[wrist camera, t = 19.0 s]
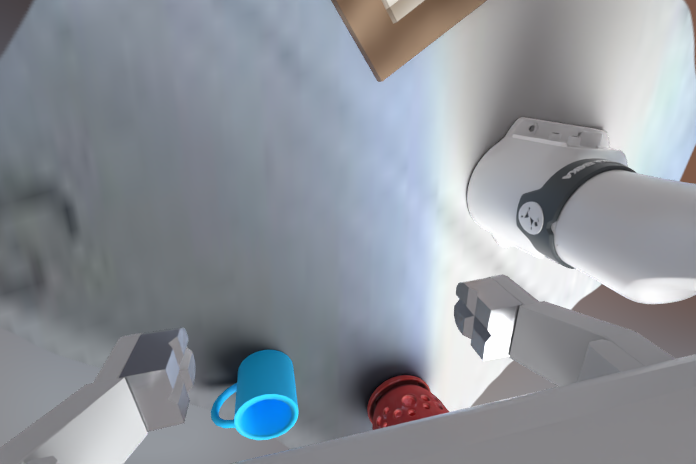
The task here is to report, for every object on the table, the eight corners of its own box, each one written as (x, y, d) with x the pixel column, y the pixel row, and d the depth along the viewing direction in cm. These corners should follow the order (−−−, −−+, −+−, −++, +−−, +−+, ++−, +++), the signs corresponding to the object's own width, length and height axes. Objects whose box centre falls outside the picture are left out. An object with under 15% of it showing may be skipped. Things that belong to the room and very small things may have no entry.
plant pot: (433, 407, 64) (468, 471, 53) (367, 430, 62) (389, 501, 51) (429, 355, 58) (467, 416, 48) (355, 379, 56) (378, 447, 46)
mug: (282, 341, 50) (286, 385, 43) (300, 379, 54) (306, 425, 46) (202, 371, 49) (192, 421, 42) (226, 407, 53) (220, 459, 45)
